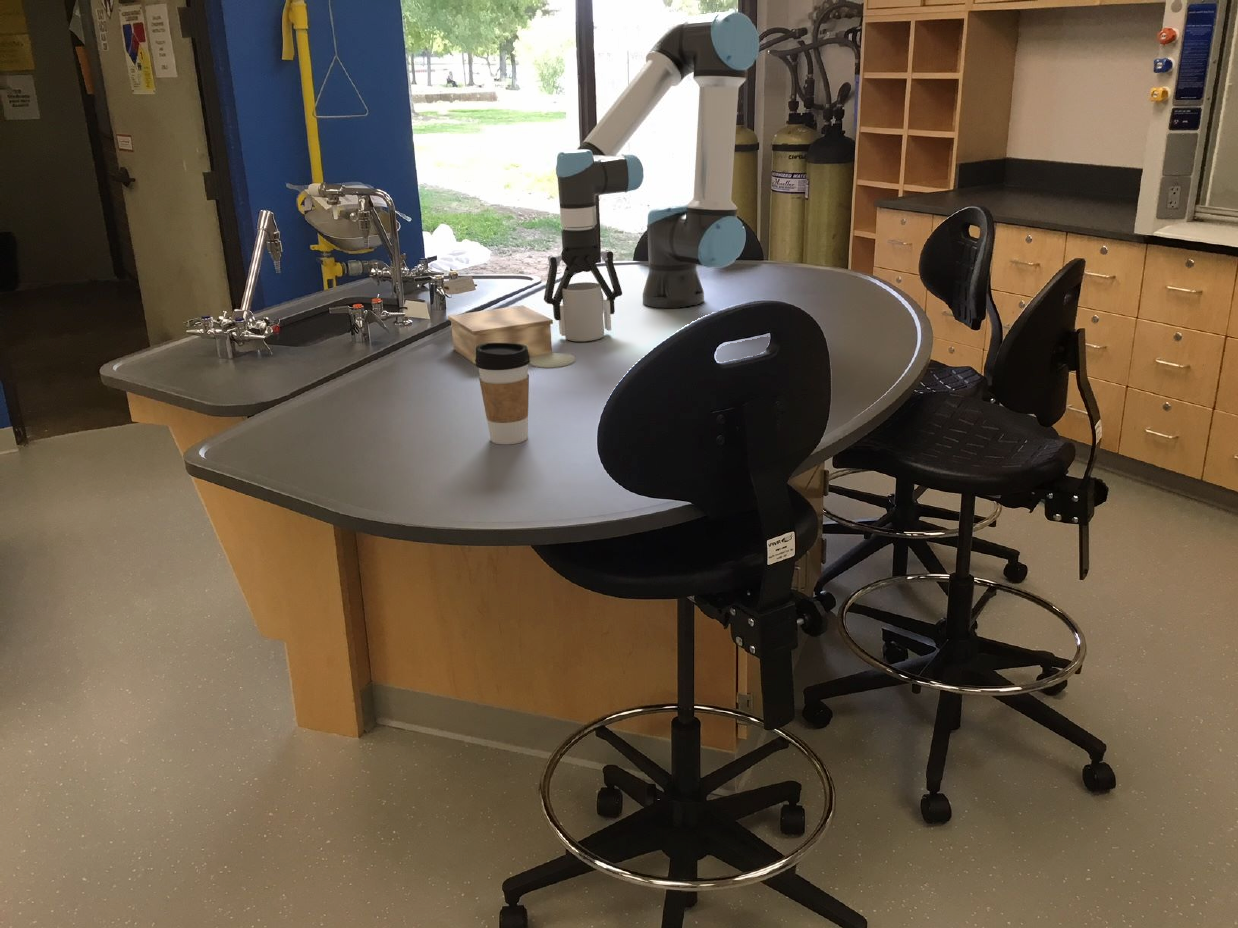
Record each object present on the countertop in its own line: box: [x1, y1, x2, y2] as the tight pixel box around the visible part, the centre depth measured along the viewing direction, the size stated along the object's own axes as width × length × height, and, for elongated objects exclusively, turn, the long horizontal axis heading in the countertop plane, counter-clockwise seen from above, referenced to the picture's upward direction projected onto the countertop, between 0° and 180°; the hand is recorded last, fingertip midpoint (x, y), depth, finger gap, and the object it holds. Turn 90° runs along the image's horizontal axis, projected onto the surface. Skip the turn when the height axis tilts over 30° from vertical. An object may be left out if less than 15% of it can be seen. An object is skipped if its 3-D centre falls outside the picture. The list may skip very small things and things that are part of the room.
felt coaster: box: [529, 352, 575, 369], centre depth 202 cm, size 9×9×1 cm
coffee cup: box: [475, 343, 531, 446], centre depth 157 cm, size 8×8×15 cm
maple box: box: [447, 305, 554, 365], centre depth 210 cm, size 17×17×7 cm
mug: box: [562, 281, 605, 342], centre depth 218 cm, size 12×8×11 cm
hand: (585, 331), depth 220 cm, fingers closed on mug, 9 cm apart
